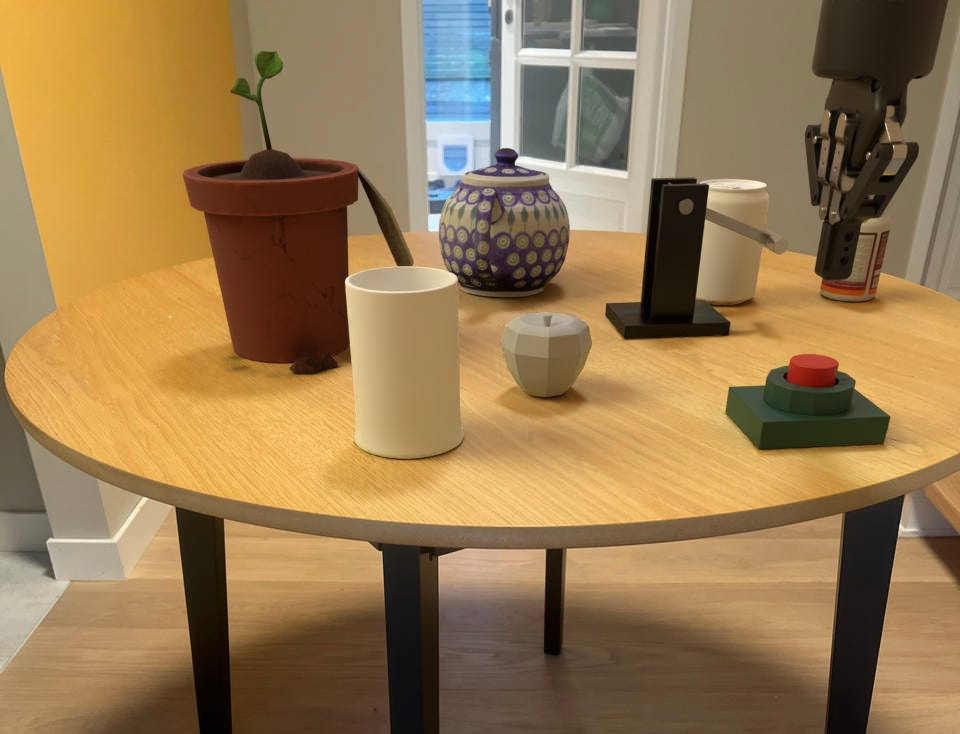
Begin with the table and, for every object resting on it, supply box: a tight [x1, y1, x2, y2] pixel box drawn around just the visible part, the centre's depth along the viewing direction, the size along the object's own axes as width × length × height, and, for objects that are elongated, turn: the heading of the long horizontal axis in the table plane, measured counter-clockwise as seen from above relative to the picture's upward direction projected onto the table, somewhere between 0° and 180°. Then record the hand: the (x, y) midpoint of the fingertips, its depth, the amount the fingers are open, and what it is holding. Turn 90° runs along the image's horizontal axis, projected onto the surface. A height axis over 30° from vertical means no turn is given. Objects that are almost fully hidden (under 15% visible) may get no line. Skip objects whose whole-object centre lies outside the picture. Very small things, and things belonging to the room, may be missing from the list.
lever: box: [658, 182, 789, 255], centre depth 94 cm, size 13×5×2 cm, turn 96°
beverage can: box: [696, 178, 770, 306], centre depth 105 cm, size 8×8×12 cm
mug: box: [345, 265, 465, 460], centre depth 72 cm, size 12×8×12 cm
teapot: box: [438, 147, 571, 298], centre depth 109 cm, size 25×15×15 cm, turn 165°
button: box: [786, 353, 840, 388], centre depth 73 cm, size 4×4×2 cm
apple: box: [499, 311, 593, 398], centre depth 81 cm, size 8×8×7 cm
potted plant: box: [182, 50, 415, 374], centre depth 87 cm, size 18×22×25 cm
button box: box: [724, 365, 891, 450], centre depth 74 cm, size 10×8×4 cm
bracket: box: [604, 176, 731, 340], centre depth 96 cm, size 11×9×14 cm
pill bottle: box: [820, 195, 893, 303], centre depth 106 cm, size 6×6×11 cm
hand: (831, 277), depth 69 cm, fingers closed
